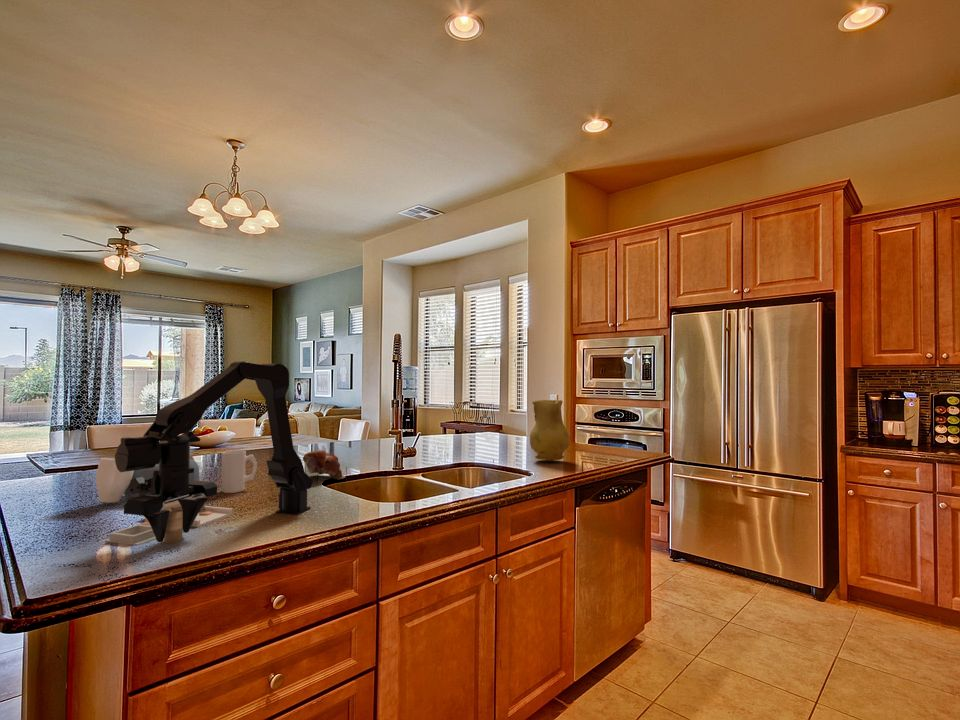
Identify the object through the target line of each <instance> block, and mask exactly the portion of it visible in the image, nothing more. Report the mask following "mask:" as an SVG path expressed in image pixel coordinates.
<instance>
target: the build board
mask: <svg viewBox="0 0 960 720" xmlns="http://www.w3.org/2000/svg"><path fill="white" fill-rule="evenodd" d="M191 528H194V527H193V525H192V526H191ZM182 531H183V528H182ZM108 534H109V535H108V536H109V537H108V538H106V539H105V540H104V541H105V542H108V541H109V543H116V542H117V544H124V545H125V544H126V545H132V546H141V545H142V544H146V543H149V542H153V541H155V540H157V539H156V537H155V535H154V532H153V530H152V528H151V525H150V523H149V522H148V521H144V522H141V523H139V524H136V525H132V526H128V527H125V528H123V529H119V530H116V531H113V532H110V533H108Z"/></svg>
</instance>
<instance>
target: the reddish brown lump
mask: <svg viewBox="0 0 960 720" xmlns="http://www.w3.org/2000/svg"><path fill="white" fill-rule="evenodd" d="M302 462H304V463H305V465H306V467H307V471H308V472H309V474H311V475H312V474H318V475H328V476H330V477H331V478H333V479H335V480H341V479H344V478H346V476H345V475H343V473H342V472H343V471H342V469H341V464H340V462H339V458H338V456H336V455H335V454H334V453H330V452H329V453H327V452H326V450H313V451H309V452H307V453H305V454H304V455H303V457H302Z"/></svg>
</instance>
